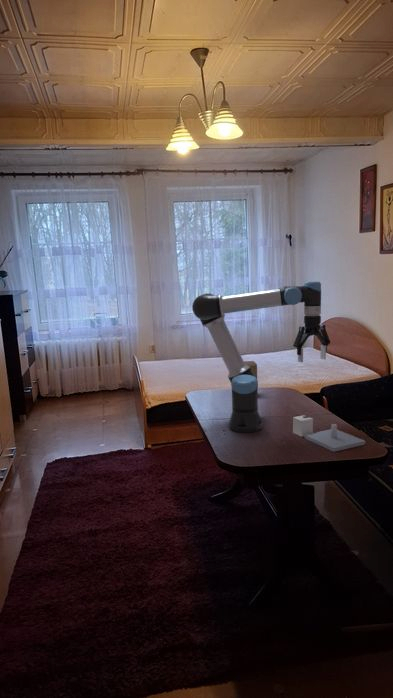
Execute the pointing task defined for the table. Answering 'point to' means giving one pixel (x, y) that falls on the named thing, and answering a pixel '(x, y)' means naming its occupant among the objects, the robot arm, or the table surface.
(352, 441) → the plate
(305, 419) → the white box
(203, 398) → the table surface
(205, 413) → the table surface
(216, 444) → the table surface
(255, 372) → the wooden block
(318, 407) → the table surface
